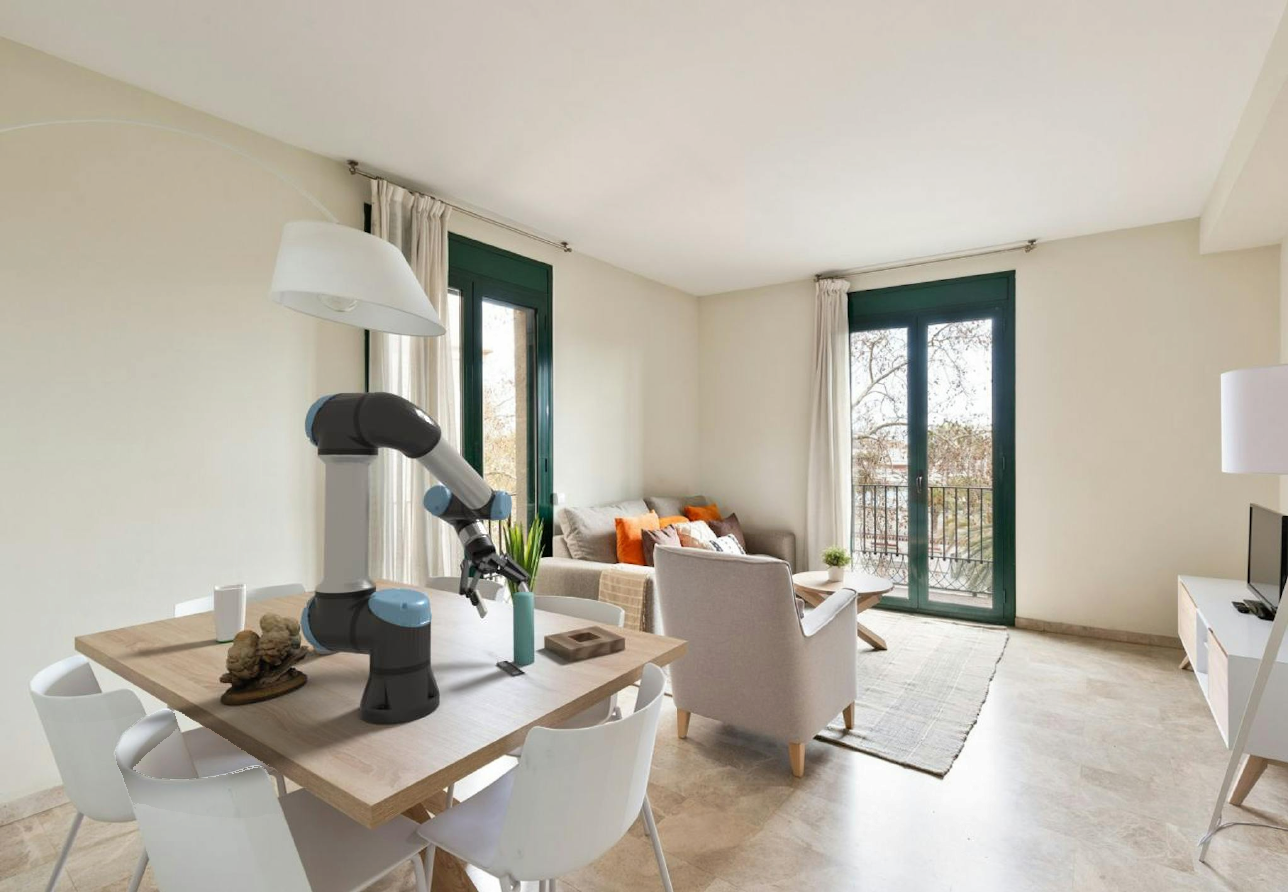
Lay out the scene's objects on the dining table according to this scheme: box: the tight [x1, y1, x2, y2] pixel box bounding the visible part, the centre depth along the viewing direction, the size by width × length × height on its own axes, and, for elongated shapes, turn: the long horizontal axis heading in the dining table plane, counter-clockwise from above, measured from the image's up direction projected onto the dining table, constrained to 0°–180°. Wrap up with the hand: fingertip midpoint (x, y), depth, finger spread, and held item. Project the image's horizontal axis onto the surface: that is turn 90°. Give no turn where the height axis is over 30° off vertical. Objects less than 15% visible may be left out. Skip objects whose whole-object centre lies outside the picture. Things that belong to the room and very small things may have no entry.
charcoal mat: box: [496, 660, 527, 677], centre depth 149 cm, size 10×10×1 cm
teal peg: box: [512, 591, 535, 667], centre depth 149 cm, size 5×5×17 cm
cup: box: [213, 583, 247, 643], centre depth 172 cm, size 7×7×15 cm
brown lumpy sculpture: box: [219, 612, 310, 707], centre depth 135 cm, size 18×12×17 cm, turn 150°
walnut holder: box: [543, 625, 626, 663], centre depth 159 cm, size 16×14×4 cm
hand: (508, 610), depth 155 cm, fingers open, 13 cm apart
